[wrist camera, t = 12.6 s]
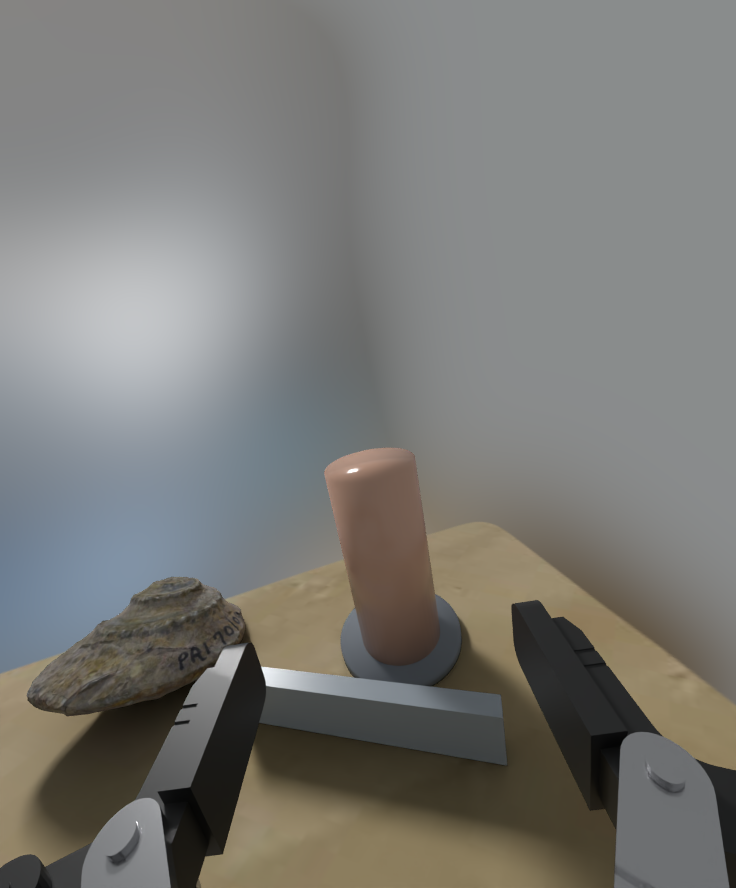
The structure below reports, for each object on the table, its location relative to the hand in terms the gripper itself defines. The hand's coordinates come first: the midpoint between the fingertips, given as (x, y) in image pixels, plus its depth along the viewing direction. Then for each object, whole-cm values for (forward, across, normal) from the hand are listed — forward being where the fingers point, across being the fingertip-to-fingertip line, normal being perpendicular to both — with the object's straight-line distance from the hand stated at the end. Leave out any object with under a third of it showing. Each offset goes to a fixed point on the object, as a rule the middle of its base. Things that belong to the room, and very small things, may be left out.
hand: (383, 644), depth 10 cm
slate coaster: (+10, 0, +10) cm, 14 cm away
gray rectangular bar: (+5, +2, +10) cm, 12 cm away
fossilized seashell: (+10, +17, +11) cm, 22 cm away
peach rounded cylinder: (+10, 0, +10) cm, 14 cm away
